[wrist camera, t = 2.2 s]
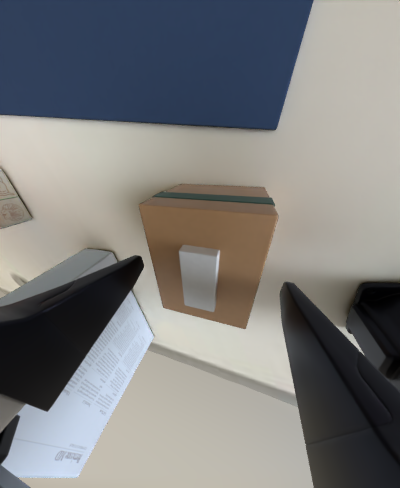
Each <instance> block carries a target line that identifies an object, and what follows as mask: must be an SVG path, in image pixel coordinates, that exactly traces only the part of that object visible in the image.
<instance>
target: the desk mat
mask: <svg viewBox="0 0 400 488" xmlns="http://www.w3.org/2000/svg"><path fill="white" fill-rule="evenodd" d="M312 3H313V0H0V115H17V116H35V117H53V118H70V119H88V120H106V121H124V122H141V123H159V124H177V125H194V126H212V127H230V128H247V129H265V130H276V129H277V126H278V122H279V119H280V115H281V112H282V108H283V105H284V101H285V98H286V94H287V91H288V87H289V84H290V80H291V77H292V73H293V70H294V66H295V63H296V59H297V56H298V52H299V49H300V45H301V42H302V38H303V35H304V31H305V28H306V24H307V21H308V17H309V14H310V10H311V7H312Z"/></svg>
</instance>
